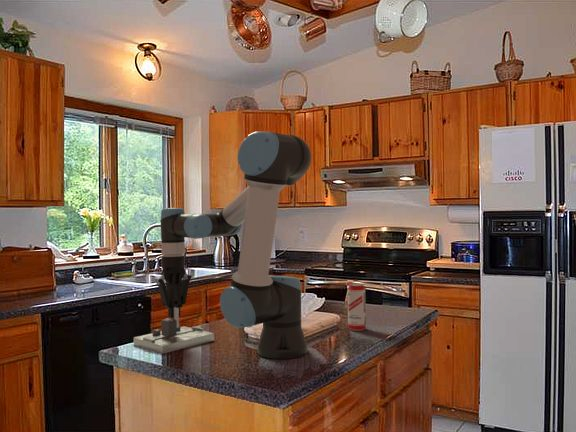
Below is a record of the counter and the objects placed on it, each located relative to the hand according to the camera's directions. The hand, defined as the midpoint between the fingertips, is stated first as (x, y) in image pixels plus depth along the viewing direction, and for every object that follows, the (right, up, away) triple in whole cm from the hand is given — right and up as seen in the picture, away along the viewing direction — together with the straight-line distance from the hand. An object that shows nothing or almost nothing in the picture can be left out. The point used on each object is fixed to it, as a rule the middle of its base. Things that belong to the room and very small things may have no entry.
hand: (174, 327), depth 171 cm
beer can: (+61, -4, +14) cm, 63 cm away
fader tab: (-1, -2, -2) cm, 3 cm away
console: (0, -5, 0) cm, 5 cm away
